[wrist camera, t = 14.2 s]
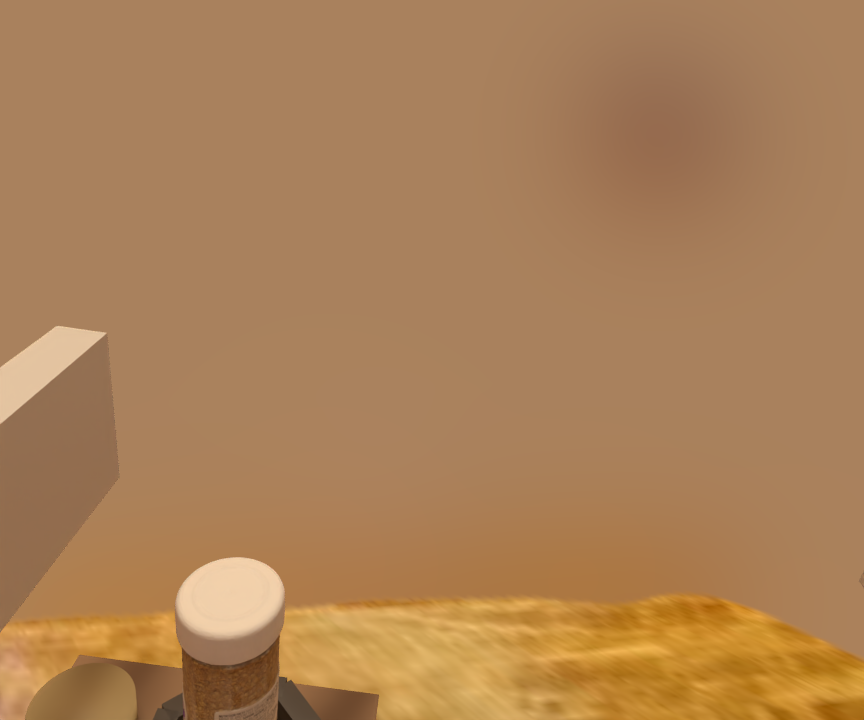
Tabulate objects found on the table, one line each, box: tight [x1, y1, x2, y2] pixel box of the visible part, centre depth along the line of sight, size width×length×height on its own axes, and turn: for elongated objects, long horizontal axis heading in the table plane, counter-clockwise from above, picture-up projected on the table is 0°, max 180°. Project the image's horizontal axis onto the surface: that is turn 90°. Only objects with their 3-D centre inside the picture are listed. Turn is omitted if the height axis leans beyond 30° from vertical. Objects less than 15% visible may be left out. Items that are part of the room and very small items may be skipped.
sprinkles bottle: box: [175, 557, 285, 720], centre depth 31 cm, size 5×5×14 cm
